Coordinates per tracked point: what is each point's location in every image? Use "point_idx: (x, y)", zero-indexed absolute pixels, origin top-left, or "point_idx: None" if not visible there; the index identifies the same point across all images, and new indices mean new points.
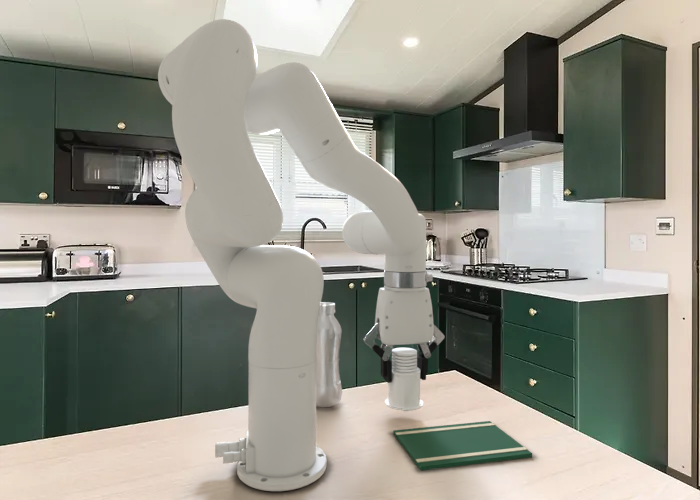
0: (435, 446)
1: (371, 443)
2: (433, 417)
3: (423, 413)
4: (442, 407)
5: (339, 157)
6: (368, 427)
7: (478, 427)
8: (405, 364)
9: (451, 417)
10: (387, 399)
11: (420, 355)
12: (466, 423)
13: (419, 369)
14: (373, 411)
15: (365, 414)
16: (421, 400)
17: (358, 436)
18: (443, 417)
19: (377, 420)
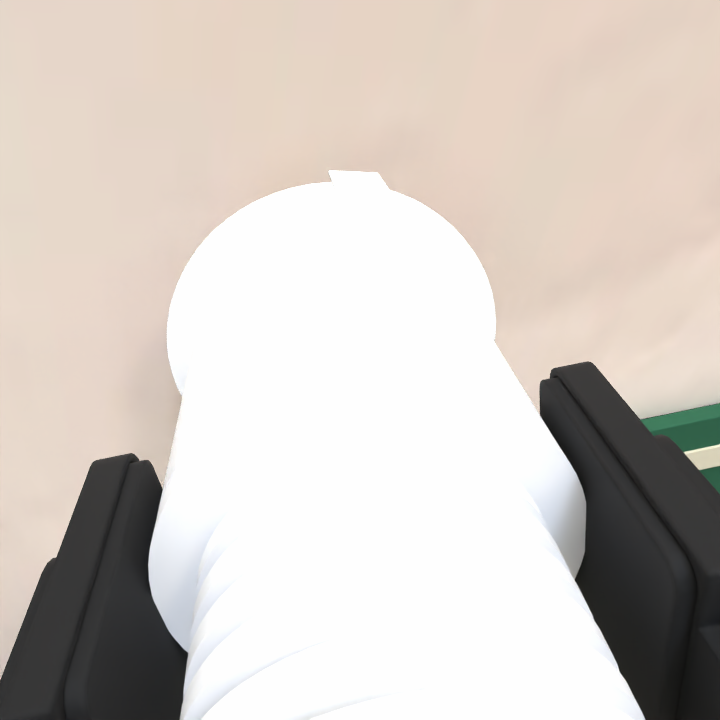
0: None
1: None
2: (532, 293)
3: (487, 224)
4: (683, 104)
5: None
6: (72, 439)
7: (704, 471)
8: None
9: (650, 292)
10: (191, 286)
11: (701, 703)
12: (672, 430)
13: (569, 569)
14: (82, 178)
15: (19, 240)
16: (492, 313)
17: (25, 535)
18: (598, 292)
19: (127, 343)
